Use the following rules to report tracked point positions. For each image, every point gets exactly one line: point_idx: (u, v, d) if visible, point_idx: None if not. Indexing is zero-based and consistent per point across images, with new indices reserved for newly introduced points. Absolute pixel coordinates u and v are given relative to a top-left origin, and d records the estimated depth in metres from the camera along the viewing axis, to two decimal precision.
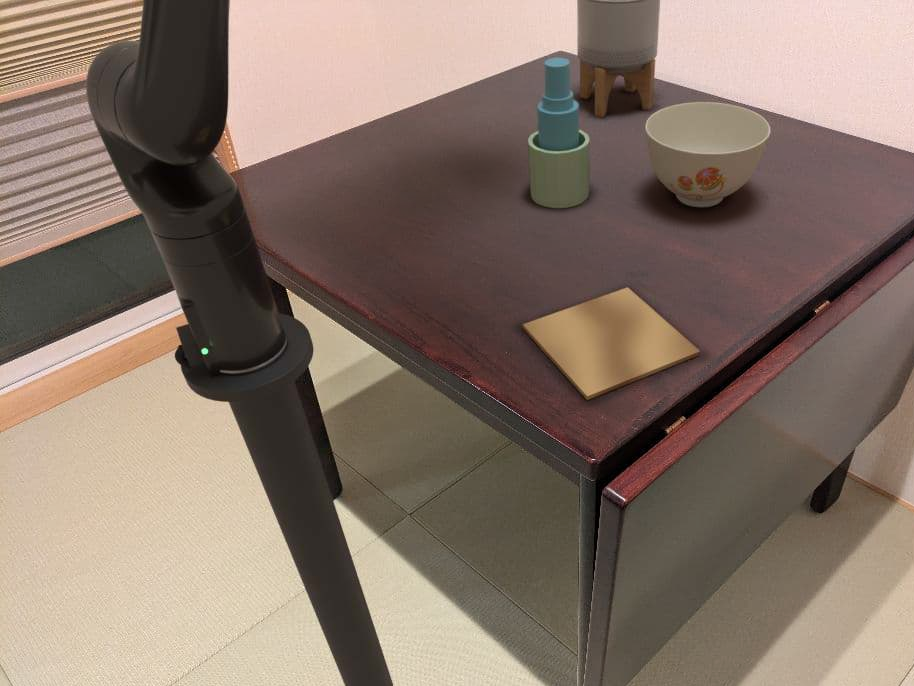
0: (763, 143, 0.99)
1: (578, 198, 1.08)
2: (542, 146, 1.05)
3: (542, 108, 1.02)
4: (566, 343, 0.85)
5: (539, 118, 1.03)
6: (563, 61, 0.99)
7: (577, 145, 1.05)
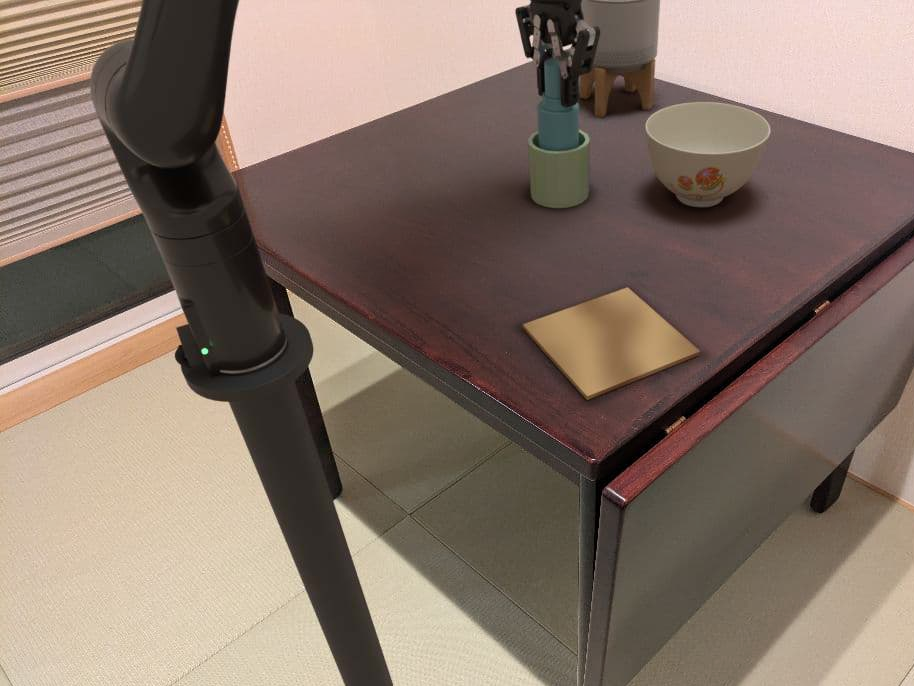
0: (763, 143, 0.99)
1: (578, 198, 1.08)
2: (542, 146, 1.05)
3: (542, 108, 1.02)
4: (566, 343, 0.85)
5: (539, 118, 1.03)
6: None
7: (577, 145, 1.05)
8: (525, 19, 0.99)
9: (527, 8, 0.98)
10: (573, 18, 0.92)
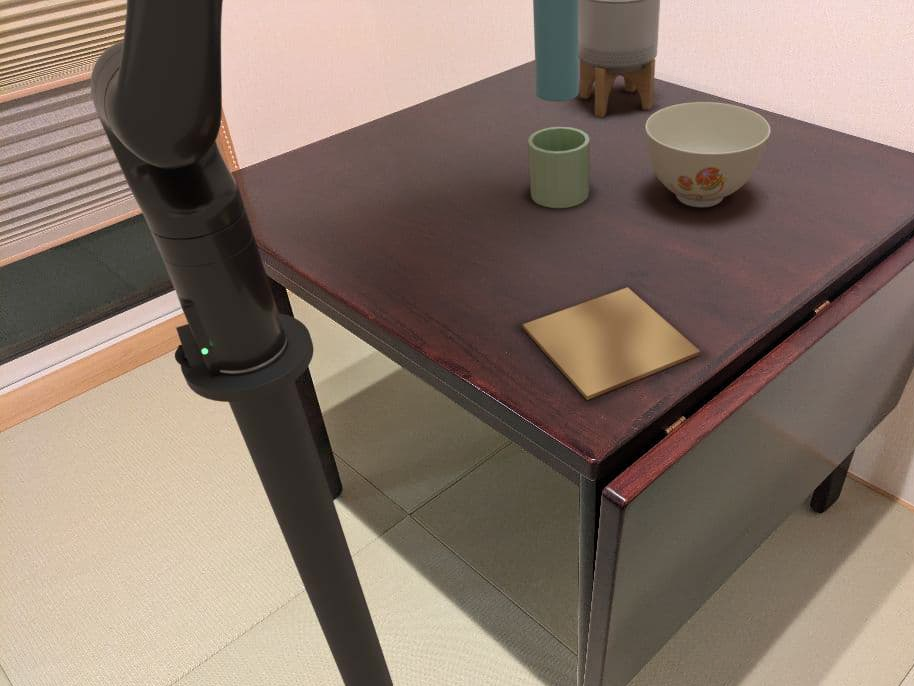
0: (763, 143, 0.99)
1: (578, 198, 1.08)
2: (538, 38, 0.95)
3: None
4: (566, 343, 0.85)
5: (535, 4, 0.93)
6: None
7: (577, 38, 0.95)
8: None
9: None
10: None
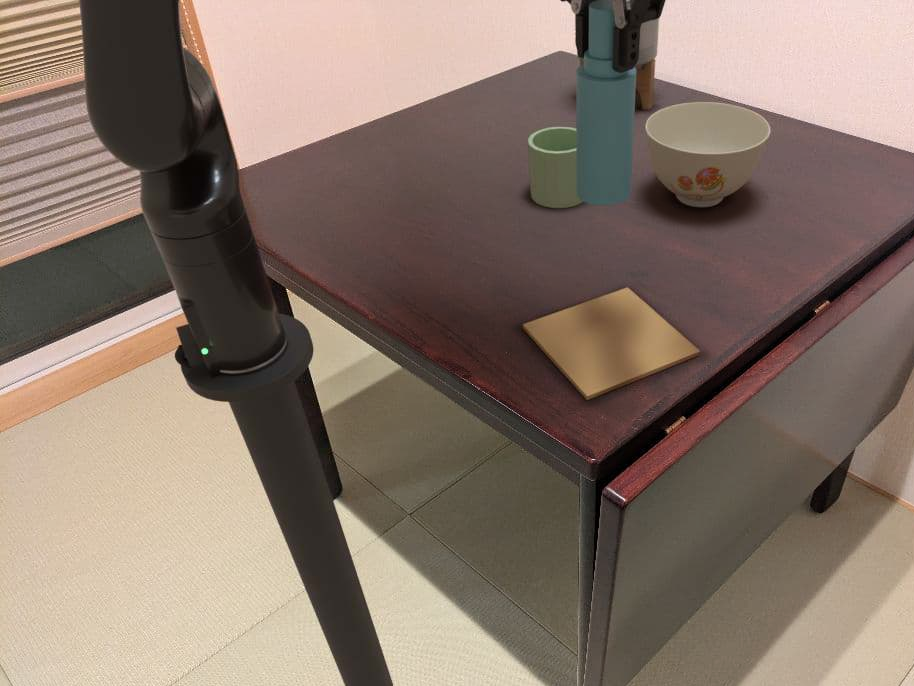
0: (763, 143, 0.99)
1: (578, 198, 1.08)
2: (582, 130, 0.73)
3: (584, 74, 0.71)
4: (566, 343, 0.85)
5: (579, 89, 0.71)
6: None
7: (632, 128, 0.74)
8: None
9: None
10: None
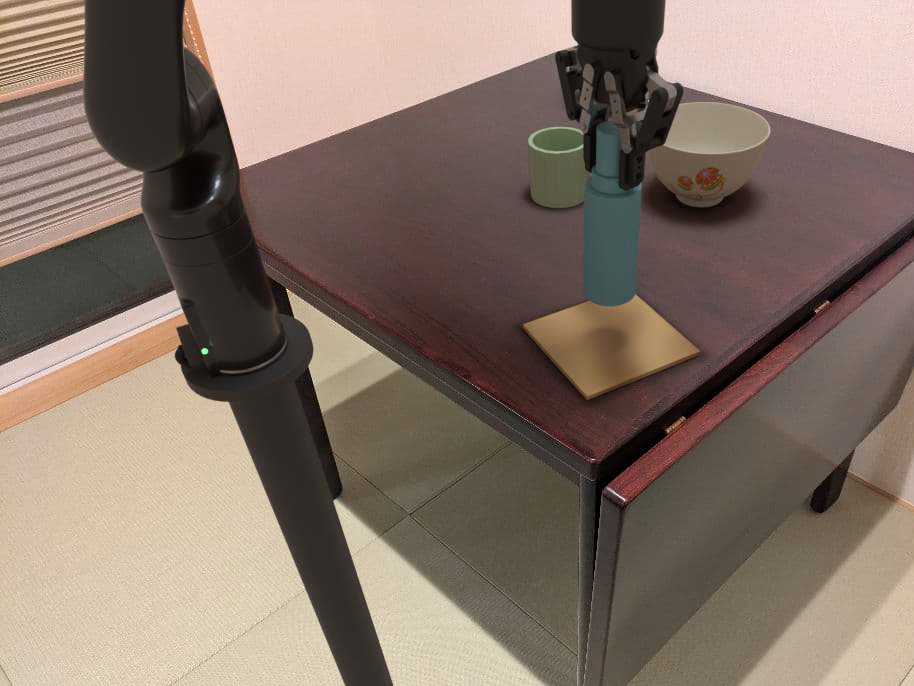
0: (763, 143, 0.99)
1: (578, 198, 1.08)
2: (589, 238, 0.76)
3: (591, 189, 0.73)
4: (566, 343, 0.85)
5: (587, 202, 0.74)
6: None
7: (637, 237, 0.77)
8: (569, 68, 0.70)
9: (572, 52, 0.69)
10: (644, 71, 0.63)
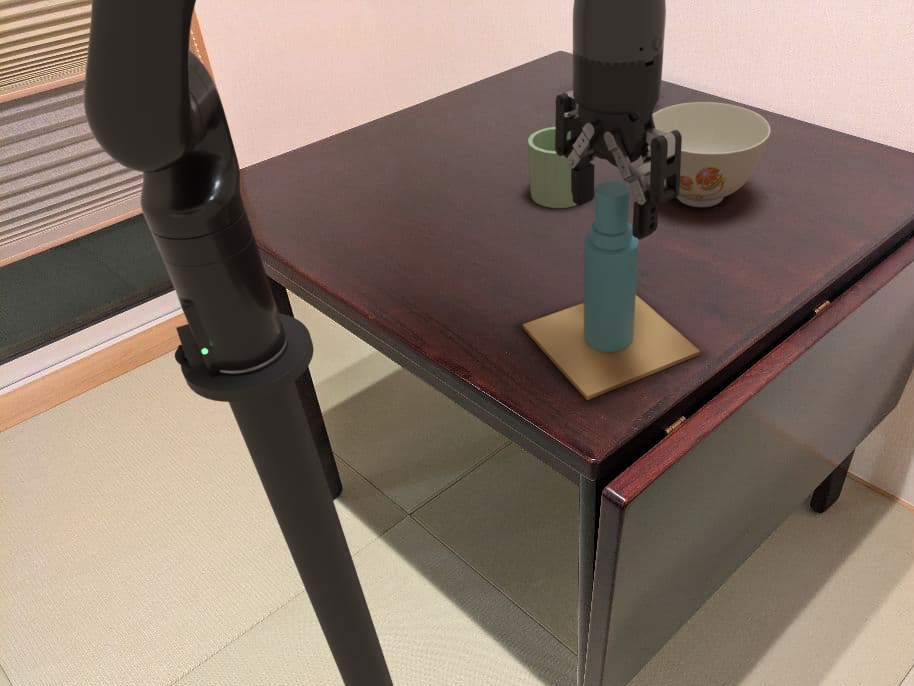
0: (763, 143, 0.99)
1: None
2: (589, 290, 0.80)
3: (591, 245, 0.77)
4: (566, 343, 0.85)
5: (586, 257, 0.78)
6: (621, 188, 0.74)
7: (634, 288, 0.81)
8: (568, 114, 0.73)
9: (574, 101, 0.72)
10: (640, 128, 0.67)
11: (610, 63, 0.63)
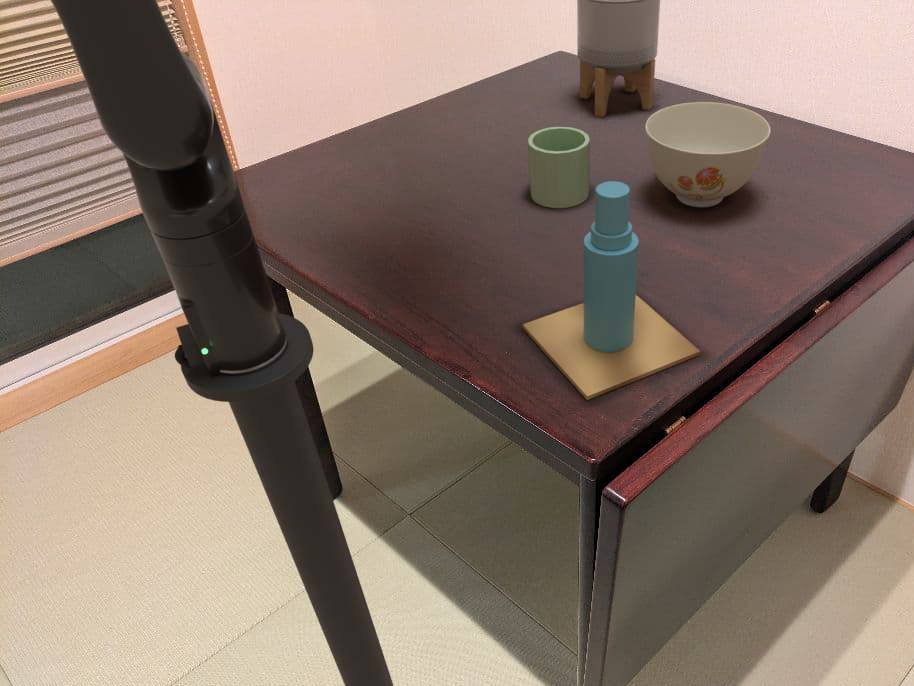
0: (763, 143, 0.99)
1: (578, 198, 1.08)
2: (589, 290, 0.80)
3: (591, 245, 0.77)
4: (566, 343, 0.85)
5: (586, 257, 0.78)
6: (621, 188, 0.74)
7: (634, 288, 0.81)
8: None
9: None
10: None
11: None
